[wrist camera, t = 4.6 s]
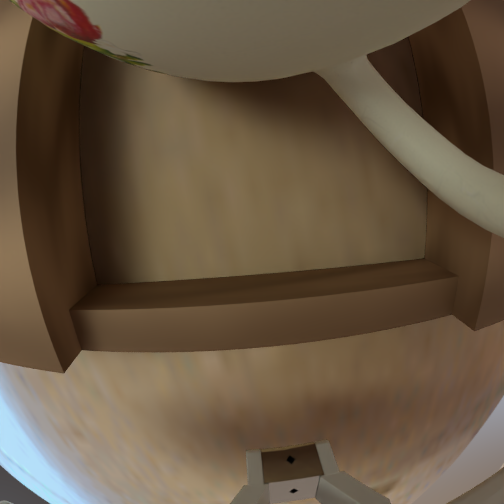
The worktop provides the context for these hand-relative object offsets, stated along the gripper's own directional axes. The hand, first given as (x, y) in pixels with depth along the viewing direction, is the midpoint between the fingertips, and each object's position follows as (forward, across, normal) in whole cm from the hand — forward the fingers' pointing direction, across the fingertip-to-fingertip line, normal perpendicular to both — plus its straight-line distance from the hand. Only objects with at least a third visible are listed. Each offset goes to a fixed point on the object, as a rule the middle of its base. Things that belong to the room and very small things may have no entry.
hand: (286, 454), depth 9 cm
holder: (+4, 0, -11) cm, 12 cm away
